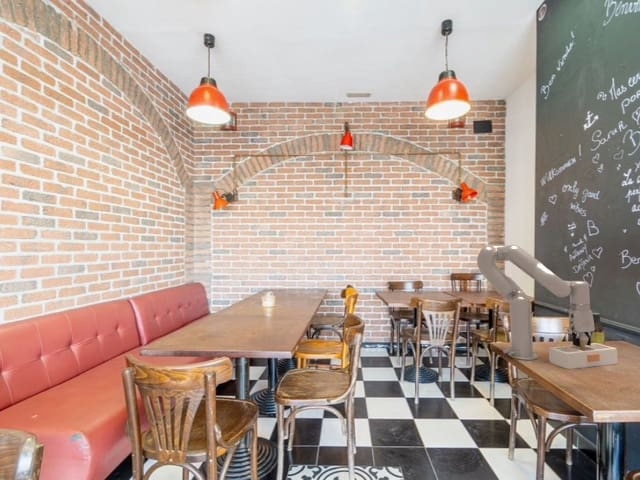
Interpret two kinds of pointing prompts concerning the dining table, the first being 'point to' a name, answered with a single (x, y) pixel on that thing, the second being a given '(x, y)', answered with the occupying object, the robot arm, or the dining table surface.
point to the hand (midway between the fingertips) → (581, 345)
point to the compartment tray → (583, 356)
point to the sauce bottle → (598, 330)
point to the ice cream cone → (583, 340)
